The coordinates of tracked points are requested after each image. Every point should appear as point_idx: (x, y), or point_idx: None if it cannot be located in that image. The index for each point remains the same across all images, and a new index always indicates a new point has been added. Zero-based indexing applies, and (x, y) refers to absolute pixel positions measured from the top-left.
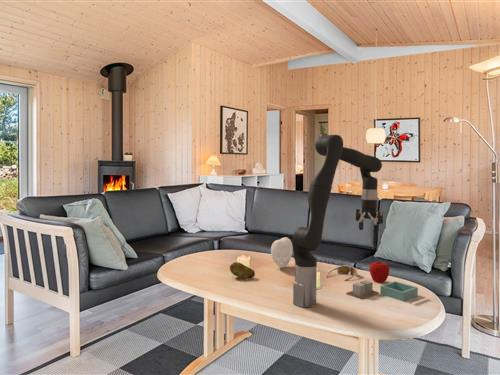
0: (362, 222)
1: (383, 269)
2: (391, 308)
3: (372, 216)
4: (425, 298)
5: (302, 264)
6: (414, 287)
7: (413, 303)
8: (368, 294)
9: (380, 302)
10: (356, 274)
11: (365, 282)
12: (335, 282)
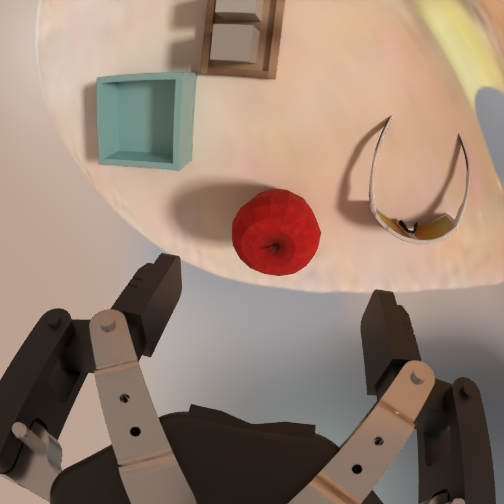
0: (377, 386)
1: (240, 213)
2: (117, 9)
3: (111, 434)
4: None
5: None
6: (106, 158)
7: None
8: None
9: (161, 17)
10: (369, 197)
11: (231, 35)
12: (408, 94)
